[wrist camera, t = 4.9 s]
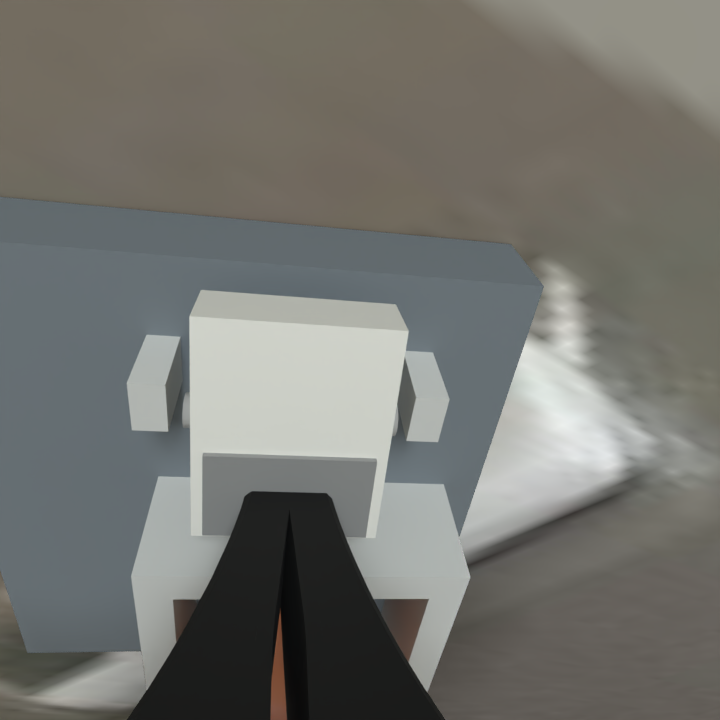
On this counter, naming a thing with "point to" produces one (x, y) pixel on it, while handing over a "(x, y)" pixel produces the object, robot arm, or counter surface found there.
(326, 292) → the breaker panel
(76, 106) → the counter surface
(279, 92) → the counter surface
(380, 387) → the rocker
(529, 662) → the counter surface
